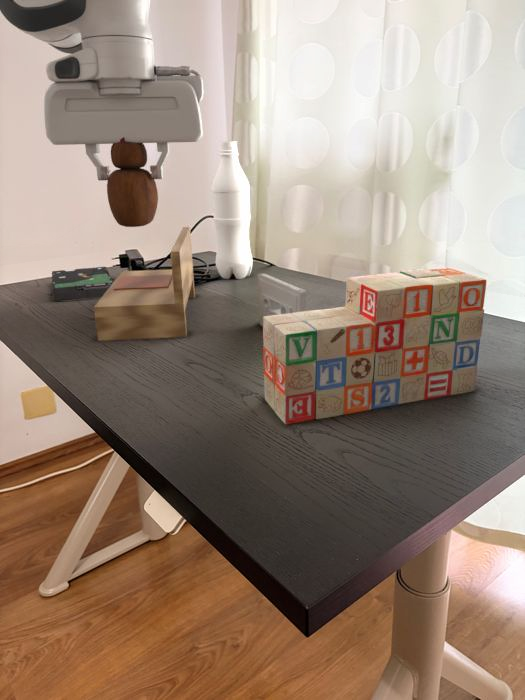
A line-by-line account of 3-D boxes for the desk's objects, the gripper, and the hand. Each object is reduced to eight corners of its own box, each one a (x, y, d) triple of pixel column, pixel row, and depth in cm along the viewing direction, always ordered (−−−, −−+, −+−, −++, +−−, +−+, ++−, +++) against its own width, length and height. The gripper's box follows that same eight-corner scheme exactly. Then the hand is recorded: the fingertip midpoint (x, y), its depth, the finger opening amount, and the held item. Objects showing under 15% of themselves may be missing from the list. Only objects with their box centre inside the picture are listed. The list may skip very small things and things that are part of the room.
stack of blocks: (285, 427, 55) (282, 301, 51) (263, 401, 61) (260, 285, 56) (476, 392, 61) (488, 277, 57) (440, 371, 67) (449, 265, 63)
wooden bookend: (98, 342, 80) (86, 254, 76) (125, 299, 101) (117, 229, 96) (186, 338, 80) (179, 251, 76) (195, 297, 101) (190, 226, 97)
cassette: (309, 348, 75) (309, 290, 73) (296, 350, 75) (296, 292, 72) (267, 324, 85) (266, 272, 83) (256, 325, 85) (254, 273, 82)
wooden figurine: (136, 221, 86) (126, 110, 80) (167, 223, 83) (158, 108, 78) (102, 227, 80) (89, 109, 75) (133, 230, 77) (122, 107, 72)
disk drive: (52, 285, 113) (54, 303, 99) (50, 271, 112) (51, 287, 98) (107, 279, 116) (116, 296, 103) (106, 265, 115) (114, 280, 102)
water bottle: (260, 276, 115) (256, 140, 106) (234, 283, 110) (227, 141, 101) (235, 271, 119) (229, 141, 110) (208, 277, 114) (200, 142, 106)
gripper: (203, 68, 78) (208, 176, 83) (48, 70, 77) (62, 179, 82) (200, 62, 72) (206, 179, 77) (32, 65, 71) (48, 183, 76)
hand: (130, 179), depth 79 cm, fingers closed on wooden figurine, 6 cm apart
